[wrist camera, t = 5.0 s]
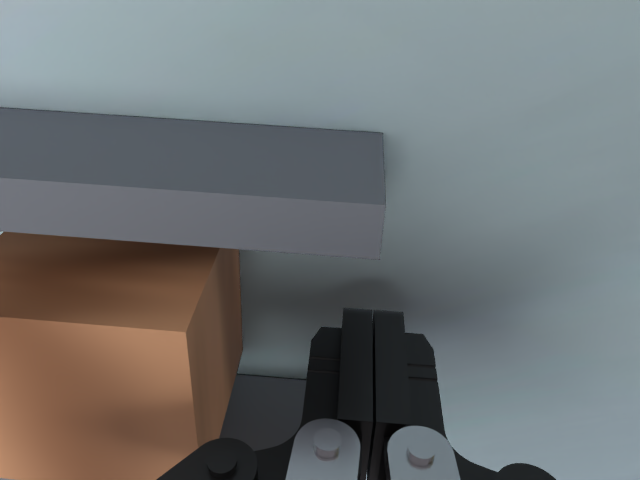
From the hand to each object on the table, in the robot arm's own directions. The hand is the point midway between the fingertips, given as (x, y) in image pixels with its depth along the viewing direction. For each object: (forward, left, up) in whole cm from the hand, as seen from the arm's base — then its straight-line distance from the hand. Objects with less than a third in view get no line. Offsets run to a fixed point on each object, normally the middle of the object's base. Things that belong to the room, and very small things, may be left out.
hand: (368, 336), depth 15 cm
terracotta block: (+6, 0, -2) cm, 6 cm away
